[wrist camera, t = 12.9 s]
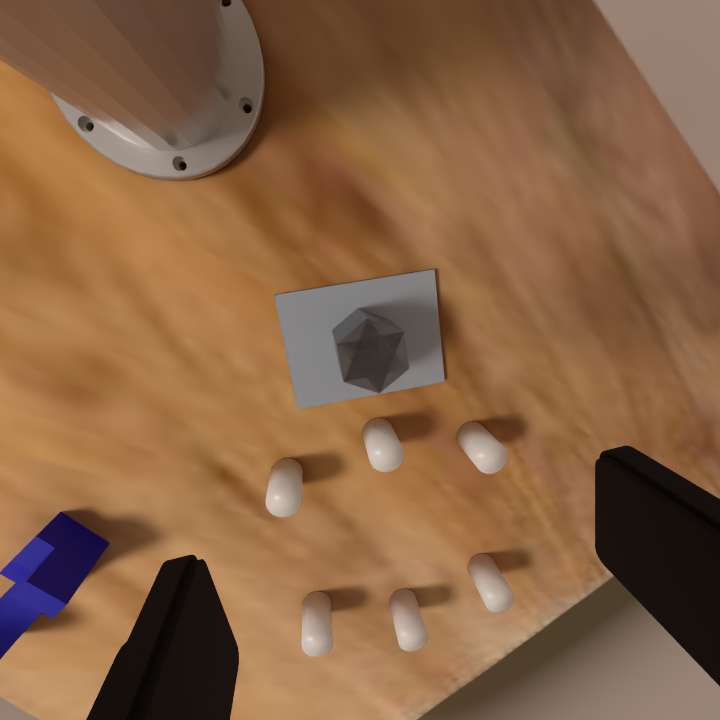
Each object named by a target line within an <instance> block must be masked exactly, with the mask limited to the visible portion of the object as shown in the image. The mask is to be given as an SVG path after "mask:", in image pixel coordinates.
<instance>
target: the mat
mask: <svg viewBox="0 0 720 720" xmlns="http://www.w3.org/2000/svg"><path fill="white" fill-rule="evenodd" d="M274 296H275V301H276V306H277V311H278V315H279V320H280V325H281V330H282V335H283V339H284V344H285V349H286V354H287V359H288V363H289V368H290V373H291V378H292V383H293V387H294V392H295V397H296V402H297V407H298V409H302V408H307V407H313V406H318V405H323V404H329V403H334V402H339V401H345V400H350V399H355V398H361V397H366V396H371V395H377V394H382V393H387V392H393V391H398V390H403V389H409V388H414V387H419V386H425V385H430V384H436V383H441V382H445V380H444V369H443V358H442V347H441V336H440V325H439V314H438V303H437V292H436V281H435V270H434V269H432V270H426V271H419V272H413V273H407V274H401V275H394V276H388V277H382V278H376V279H369V280H363V281H357V282H351V283H345V284H338V285H332V286H326V287H320V288H313V289H307V290H301V291H295V292H289V293H282V294H276V295H274ZM357 308H359V309H361V310H364V311H367V312H370V313H372V314H375V315H378V316H381V317H384V318H386V319H389V320H390V321H391V322H393V323H394V324H395V325H397V326H398V327H399V328H401V329H402V330H403V331H404V333H405V340H406V348H407V355H408V362H409V370H407V371H406V372H405V373H404V374H403V375H401V376H400V377H399V378H398V379H397V380H395V381H394V382H393V383H392V384H390V385H389V386H388V387H387V388H386V389H384V390H383V391H382V392H381V393H377V392H373V391H370V390H367V389H364V388H361V387H358V386H354V385H351V384H348V383H345V382H343V378H342V375H341V371H340V368H339V364H338V360H337V355H336V350H335V344H334V339H333V334H332V329H334V328H335V327H336V326H337V325H338V324H339V323H341V322H342V321H343V320H344V319H345V318H347V317H348V316H349V315H350V314H351V313H352V312H354V311H355V310H356V309H357Z"/></svg>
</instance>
